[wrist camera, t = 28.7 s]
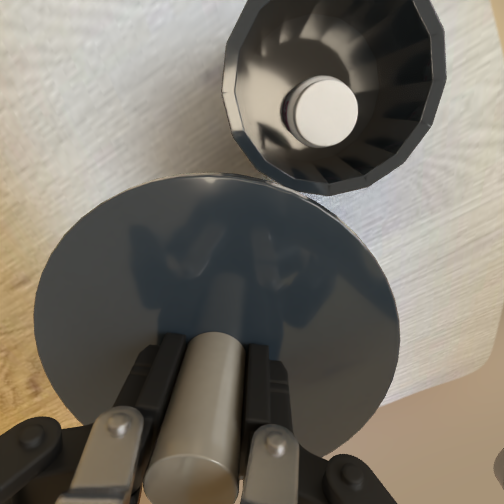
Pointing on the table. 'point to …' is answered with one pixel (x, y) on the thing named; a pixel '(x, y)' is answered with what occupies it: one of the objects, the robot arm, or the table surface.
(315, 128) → the pill bottle
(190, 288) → the pot lid
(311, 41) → the pot
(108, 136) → the table surface
